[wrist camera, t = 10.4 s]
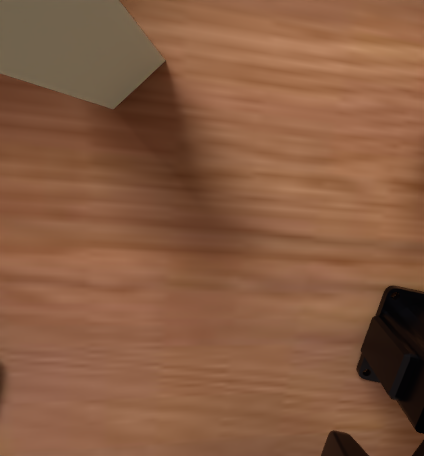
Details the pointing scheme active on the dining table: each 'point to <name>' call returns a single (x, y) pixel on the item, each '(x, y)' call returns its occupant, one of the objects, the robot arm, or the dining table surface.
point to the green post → (76, 48)
